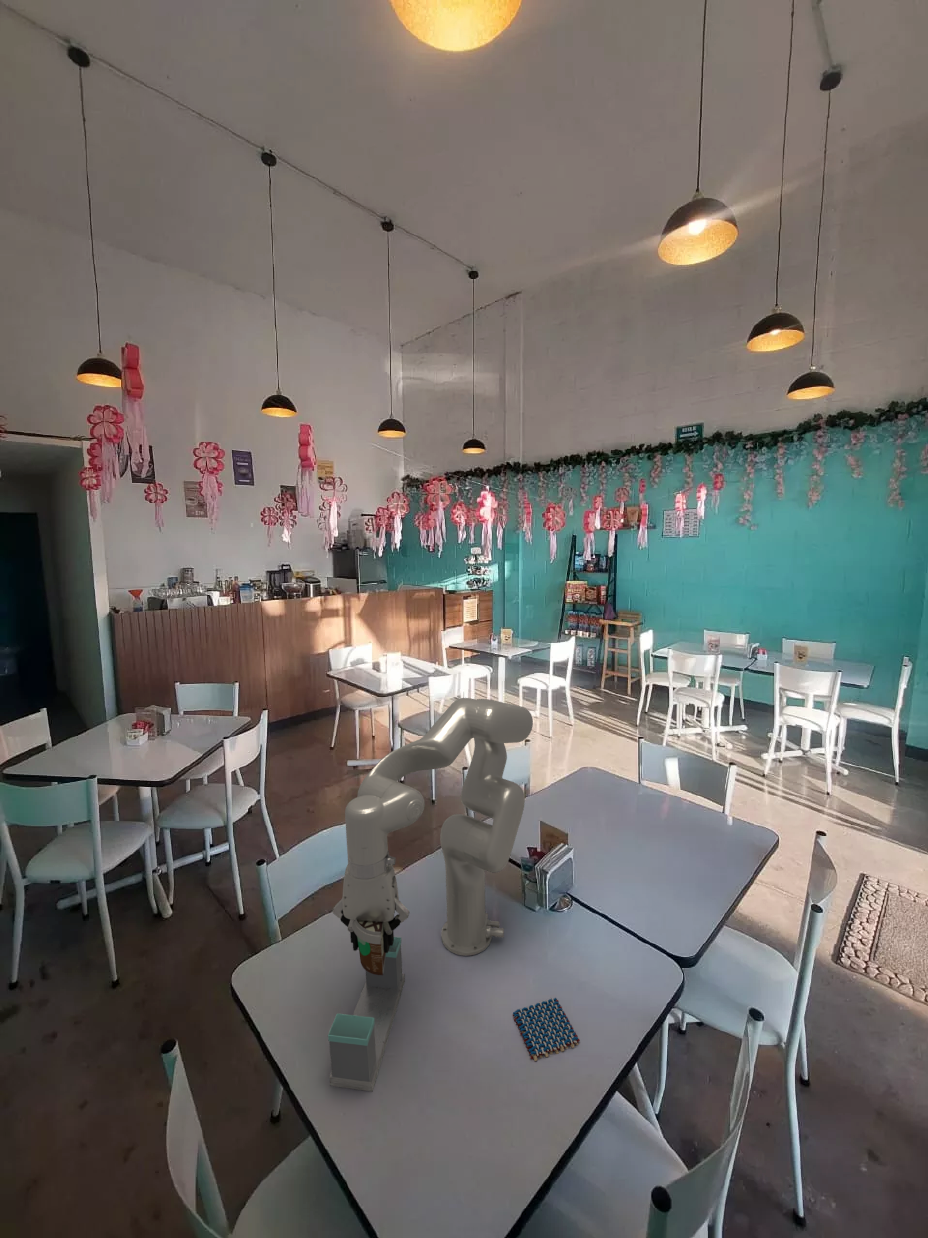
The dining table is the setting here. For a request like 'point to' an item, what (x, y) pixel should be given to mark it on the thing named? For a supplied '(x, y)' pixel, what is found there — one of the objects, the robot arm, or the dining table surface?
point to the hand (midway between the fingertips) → (372, 945)
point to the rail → (383, 1010)
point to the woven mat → (545, 1028)
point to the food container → (370, 945)
